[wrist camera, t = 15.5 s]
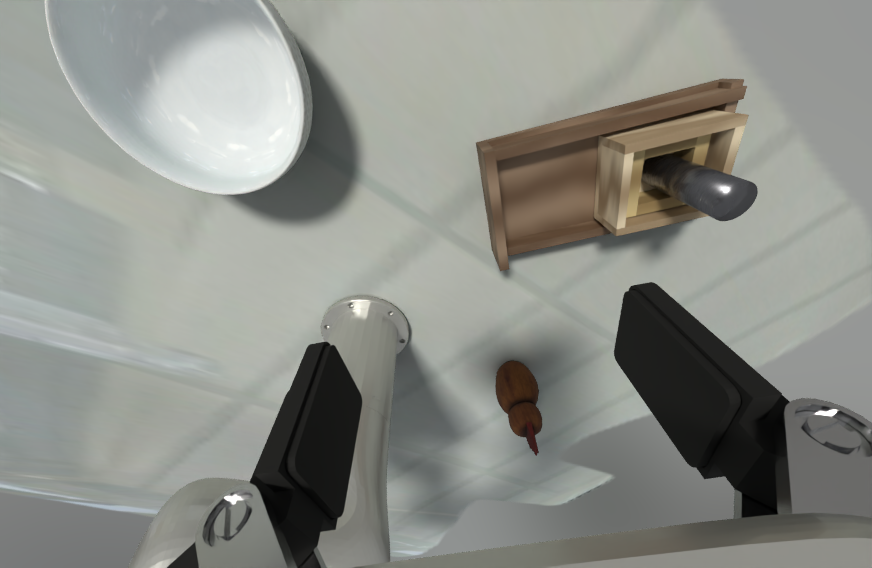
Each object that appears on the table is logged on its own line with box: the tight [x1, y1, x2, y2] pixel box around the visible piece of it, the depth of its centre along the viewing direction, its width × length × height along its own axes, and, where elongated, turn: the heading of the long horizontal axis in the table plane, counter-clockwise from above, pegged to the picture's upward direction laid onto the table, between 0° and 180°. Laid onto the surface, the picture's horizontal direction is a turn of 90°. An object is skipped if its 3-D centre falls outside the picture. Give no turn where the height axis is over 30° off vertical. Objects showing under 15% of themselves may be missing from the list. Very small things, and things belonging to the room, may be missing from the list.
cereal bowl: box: [45, 0, 313, 195], centre depth 26 cm, size 17×17×7 cm
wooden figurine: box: [496, 361, 542, 455], centre depth 47 cm, size 7×6×15 cm
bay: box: [476, 79, 747, 271], centre depth 33 cm, size 13×24×5 cm, turn 103°
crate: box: [594, 109, 748, 236], centre depth 31 cm, size 9×10×5 cm
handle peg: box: [641, 154, 757, 221], centre depth 28 cm, size 3×3×10 cm
